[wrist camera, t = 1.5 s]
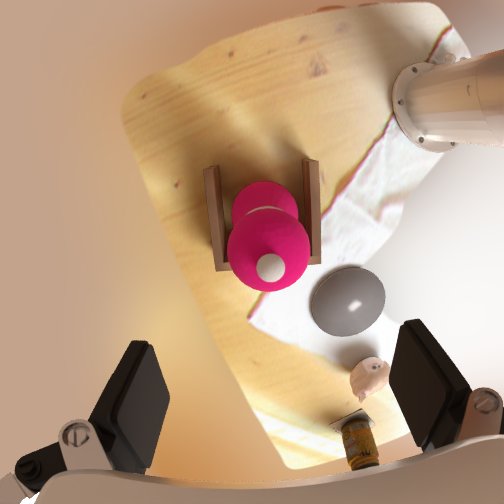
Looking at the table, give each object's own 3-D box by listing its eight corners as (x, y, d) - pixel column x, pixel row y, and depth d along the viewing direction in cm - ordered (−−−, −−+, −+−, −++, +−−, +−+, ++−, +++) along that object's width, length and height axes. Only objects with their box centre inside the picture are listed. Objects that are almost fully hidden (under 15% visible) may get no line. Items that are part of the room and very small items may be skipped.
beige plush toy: (360, 346, 44) (375, 379, 36) (390, 354, 45) (406, 385, 37) (340, 375, 46) (350, 409, 39) (369, 381, 47) (382, 413, 39)
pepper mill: (222, 199, 36) (186, 260, 18) (271, 165, 35) (288, 188, 16) (256, 245, 38) (256, 341, 20) (304, 213, 37) (350, 285, 18)
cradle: (310, 158, 35) (318, 161, 30) (313, 249, 38) (321, 263, 34) (210, 166, 35) (203, 169, 30) (220, 255, 39) (215, 271, 34)
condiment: (346, 439, 53) (356, 483, 42) (329, 424, 51) (339, 472, 40) (376, 424, 52) (390, 468, 40) (362, 408, 49) (377, 455, 38)
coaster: (337, 254, 39) (338, 256, 38) (397, 285, 40) (398, 287, 40) (297, 320, 42) (298, 322, 42) (357, 342, 44) (358, 344, 43)
